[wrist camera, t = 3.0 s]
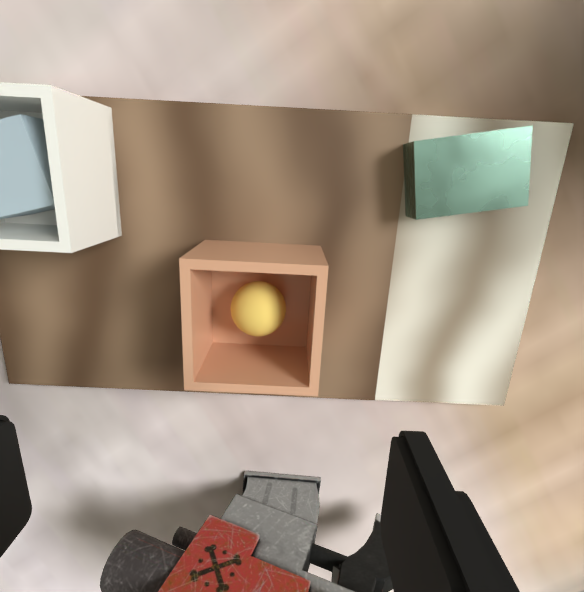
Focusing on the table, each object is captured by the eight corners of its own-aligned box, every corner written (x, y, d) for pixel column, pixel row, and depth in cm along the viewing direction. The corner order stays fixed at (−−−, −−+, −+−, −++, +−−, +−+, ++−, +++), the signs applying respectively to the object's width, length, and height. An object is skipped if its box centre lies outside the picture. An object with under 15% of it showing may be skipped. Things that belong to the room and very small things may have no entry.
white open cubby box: (4, 229, 23) (-81, 245, 18) (-18, 100, 21) (-122, 75, 16) (121, 235, 23) (71, 253, 18) (111, 107, 21) (50, 85, 16)
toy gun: (210, 433, 32) (51, 610, 19) (465, 518, 27) (506, 859, 13) (208, 471, 34) (57, 664, 20) (453, 560, 28) (477, 914, 14)
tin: (405, 216, 23) (416, 219, 21) (403, 144, 22) (413, 141, 20) (508, 203, 23) (528, 205, 21) (511, 129, 21) (532, 125, 19)
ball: (234, 322, 24) (226, 344, 21) (234, 273, 23) (226, 288, 20) (285, 325, 24) (284, 346, 21) (287, 276, 23) (286, 291, 20)
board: (21, 374, 27) (9, 383, 26) (-30, 93, 22) (-48, 88, 21) (495, 396, 28) (504, 406, 27) (560, 125, 22) (574, 123, 21)
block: (31, 214, 22) (-23, 222, 18) (2, 142, 21) (-63, 134, 17) (96, 199, 22) (55, 204, 18) (70, 125, 21) (20, 114, 17)
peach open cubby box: (206, 345, 25) (184, 390, 20) (205, 239, 23) (178, 258, 18) (313, 350, 25) (318, 396, 20) (320, 245, 23) (328, 265, 18)
